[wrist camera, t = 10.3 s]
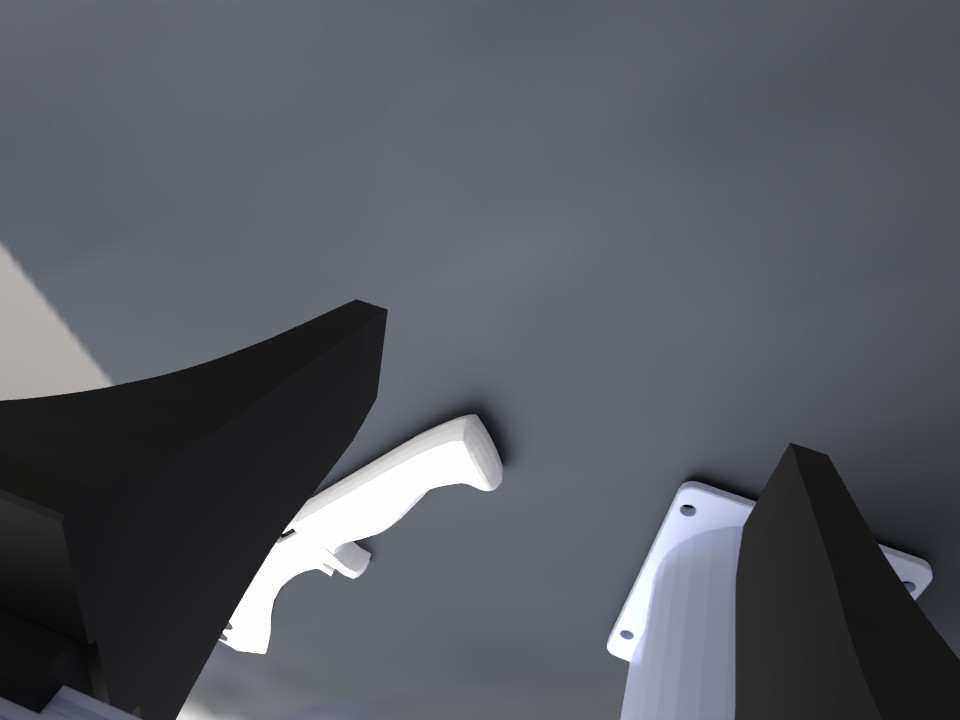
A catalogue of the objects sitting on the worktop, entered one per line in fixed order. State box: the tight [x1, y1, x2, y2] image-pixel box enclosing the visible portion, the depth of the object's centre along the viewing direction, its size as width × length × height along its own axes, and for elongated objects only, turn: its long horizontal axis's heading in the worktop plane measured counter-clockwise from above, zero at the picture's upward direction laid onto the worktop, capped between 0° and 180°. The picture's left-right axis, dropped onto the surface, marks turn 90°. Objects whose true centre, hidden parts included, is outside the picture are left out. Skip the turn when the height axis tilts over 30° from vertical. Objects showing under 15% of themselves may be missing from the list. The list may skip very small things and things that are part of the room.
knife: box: [220, 414, 503, 654], centre depth 35 cm, size 30×2×8 cm
